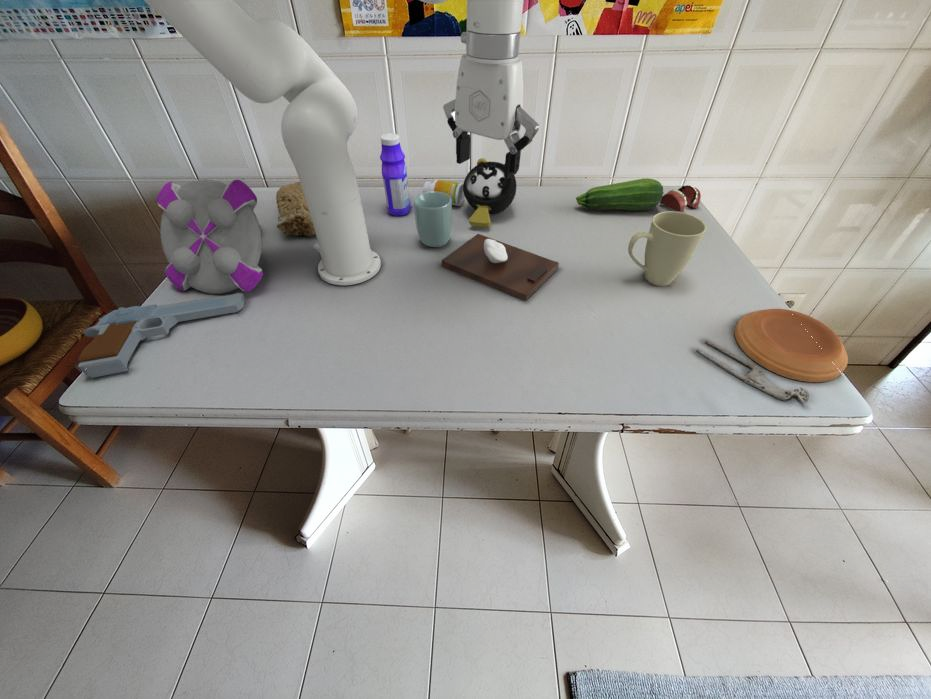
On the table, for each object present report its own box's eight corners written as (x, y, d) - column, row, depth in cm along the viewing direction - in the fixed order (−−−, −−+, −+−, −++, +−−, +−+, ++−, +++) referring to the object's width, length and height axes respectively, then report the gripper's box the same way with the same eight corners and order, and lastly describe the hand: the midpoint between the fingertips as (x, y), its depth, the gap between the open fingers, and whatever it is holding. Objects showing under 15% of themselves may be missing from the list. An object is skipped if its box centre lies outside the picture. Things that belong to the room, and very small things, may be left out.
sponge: (328, 241, 97) (336, 187, 108) (311, 214, 90) (322, 159, 101) (275, 252, 98) (288, 197, 109) (255, 226, 92) (271, 171, 103)
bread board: (441, 266, 87) (441, 257, 86) (478, 239, 95) (478, 231, 93) (525, 301, 79) (526, 292, 77) (558, 269, 86) (559, 260, 85)
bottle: (409, 217, 102) (400, 141, 90) (386, 217, 102) (374, 141, 90) (412, 203, 107) (404, 130, 95) (390, 203, 107) (379, 130, 95)
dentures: (663, 185, 101) (687, 179, 105) (655, 203, 104) (678, 197, 108) (684, 196, 98) (708, 190, 101) (675, 215, 101) (699, 208, 105)
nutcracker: (693, 349, 69) (710, 335, 71) (692, 352, 69) (709, 338, 71) (799, 410, 60) (815, 392, 61) (796, 414, 60) (812, 395, 62)
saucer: (725, 302, 73) (718, 315, 76) (771, 369, 62) (761, 383, 64) (818, 301, 73) (808, 314, 75) (881, 369, 62) (868, 382, 64)
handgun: (71, 383, 65) (99, 323, 75) (242, 351, 71) (246, 299, 81) (57, 368, 63) (87, 308, 73) (235, 336, 69) (240, 284, 79)
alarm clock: (456, 229, 105) (444, 164, 99) (507, 218, 109) (499, 155, 104) (476, 230, 94) (464, 158, 89) (531, 217, 99) (523, 148, 94)
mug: (644, 259, 88) (662, 204, 80) (690, 278, 83) (715, 222, 75) (616, 281, 83) (632, 225, 75) (663, 303, 78) (686, 246, 69)
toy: (183, 130, 73) (242, 154, 87) (111, 237, 78) (178, 243, 93) (284, 233, 73) (326, 240, 88) (205, 332, 79) (257, 323, 93)
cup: (448, 253, 91) (446, 209, 84) (413, 250, 92) (408, 206, 85) (456, 235, 96) (455, 192, 89) (423, 232, 97) (419, 189, 90)
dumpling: (479, 253, 88) (482, 235, 86) (503, 256, 89) (507, 238, 87) (484, 266, 83) (487, 247, 80) (509, 269, 83) (514, 250, 81)
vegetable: (669, 177, 96) (581, 177, 97) (665, 210, 99) (578, 210, 99) (657, 179, 103) (574, 180, 104) (653, 210, 105) (572, 210, 106)
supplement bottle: (461, 179, 102) (425, 174, 104) (456, 200, 102) (419, 194, 104) (467, 189, 107) (432, 184, 110) (461, 209, 107) (426, 204, 109)
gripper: (428, 42, 61) (432, 162, 73) (533, 59, 54) (518, 189, 66) (459, 35, 65) (458, 150, 78) (559, 50, 58) (541, 174, 71)
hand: (486, 168), depth 72 cm, fingers open, 9 cm apart
